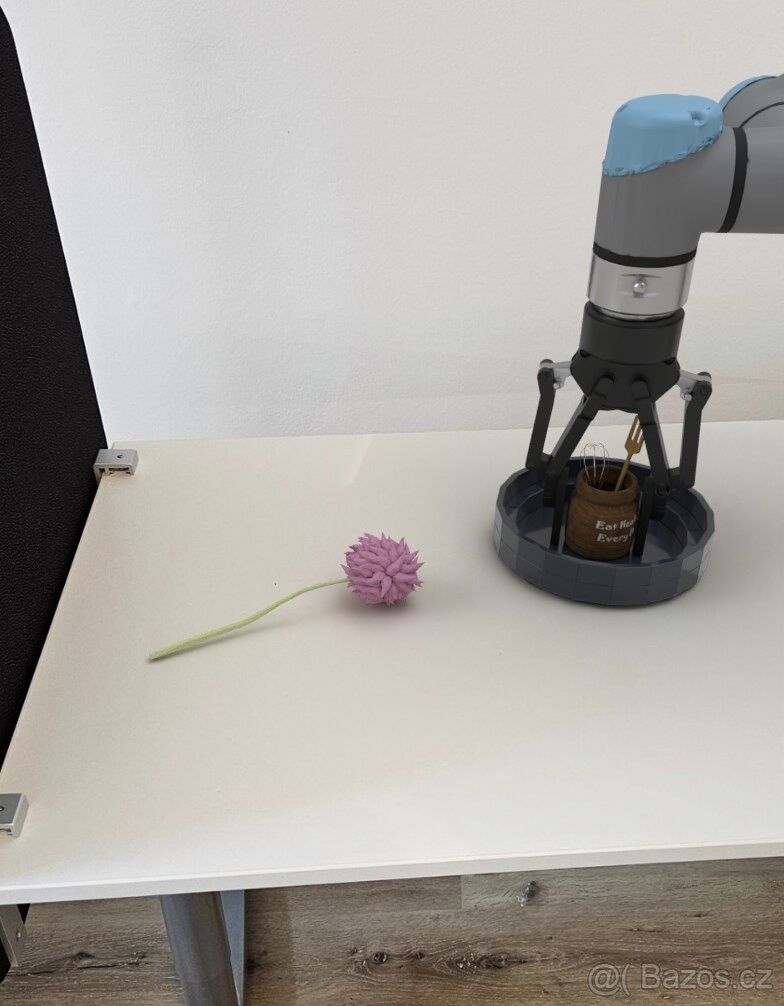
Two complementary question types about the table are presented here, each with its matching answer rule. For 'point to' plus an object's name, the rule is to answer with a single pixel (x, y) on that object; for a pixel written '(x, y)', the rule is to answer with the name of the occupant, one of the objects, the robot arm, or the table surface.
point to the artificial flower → (372, 572)
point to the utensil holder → (604, 506)
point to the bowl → (623, 581)
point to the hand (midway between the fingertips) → (596, 540)
